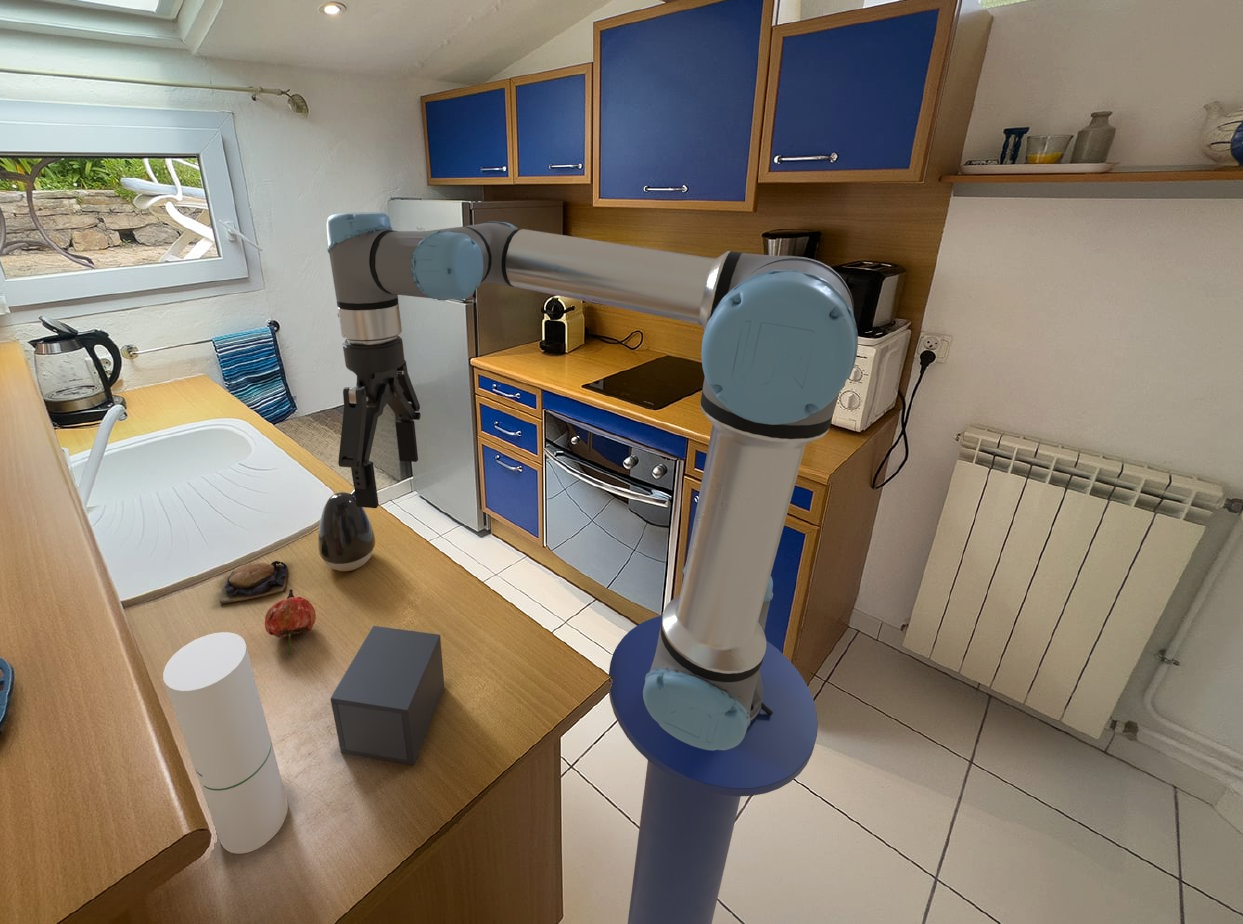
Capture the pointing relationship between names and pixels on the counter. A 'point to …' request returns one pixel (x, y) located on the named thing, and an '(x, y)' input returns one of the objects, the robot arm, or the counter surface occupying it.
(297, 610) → the pomegranate
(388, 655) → the dark grey box
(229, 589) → the bread roll
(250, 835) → the cylindrical container
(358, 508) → the pump dispenser
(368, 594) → the counter surface
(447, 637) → the counter surface
